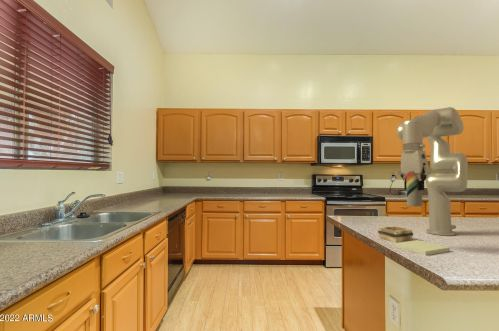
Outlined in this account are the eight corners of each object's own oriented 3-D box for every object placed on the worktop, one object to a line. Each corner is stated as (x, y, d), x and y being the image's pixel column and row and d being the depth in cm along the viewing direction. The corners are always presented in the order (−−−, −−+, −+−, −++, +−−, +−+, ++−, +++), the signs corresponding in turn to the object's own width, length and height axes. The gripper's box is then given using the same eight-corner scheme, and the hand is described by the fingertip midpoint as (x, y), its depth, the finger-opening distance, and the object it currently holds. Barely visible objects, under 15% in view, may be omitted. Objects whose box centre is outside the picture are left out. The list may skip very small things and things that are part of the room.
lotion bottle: (412, 204, 122) (411, 160, 122) (425, 206, 117) (423, 159, 117) (404, 205, 119) (402, 159, 120) (417, 206, 114) (415, 159, 115)
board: (417, 243, 123) (417, 240, 123) (449, 251, 110) (449, 247, 110) (394, 246, 118) (394, 243, 118) (425, 255, 105) (425, 251, 105)
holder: (394, 235, 139) (393, 225, 139) (413, 240, 129) (413, 229, 129) (377, 237, 135) (377, 227, 135) (396, 242, 125) (396, 231, 125)
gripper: (438, 146, 112) (439, 190, 111) (402, 150, 128) (403, 188, 127) (425, 145, 110) (426, 191, 109) (390, 149, 126) (391, 189, 125)
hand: (414, 189), depth 118 cm, fingers closed on lotion bottle, 5 cm apart
